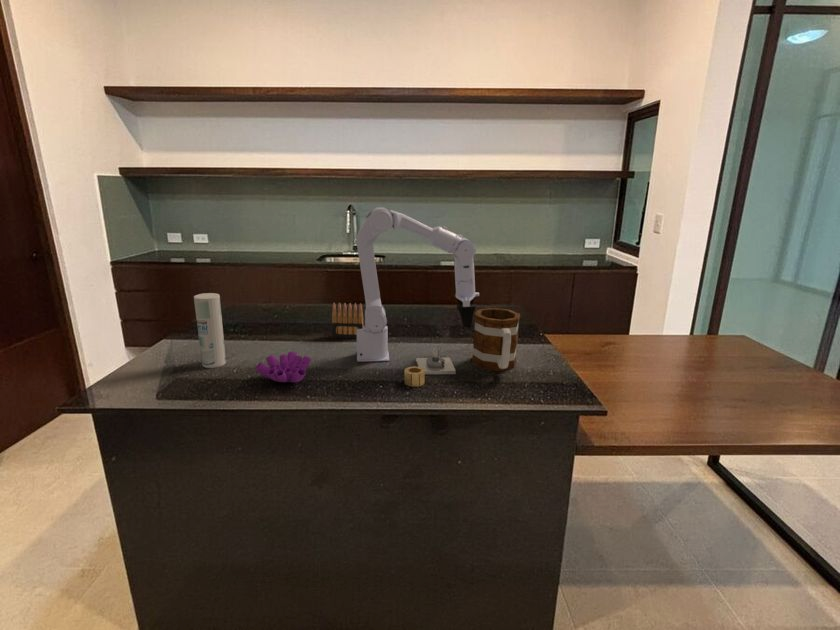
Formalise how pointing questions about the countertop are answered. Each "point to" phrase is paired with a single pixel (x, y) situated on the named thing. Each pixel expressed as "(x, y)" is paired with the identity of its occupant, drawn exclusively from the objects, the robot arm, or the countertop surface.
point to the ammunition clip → (346, 321)
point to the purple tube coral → (284, 368)
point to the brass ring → (414, 376)
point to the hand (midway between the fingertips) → (467, 323)
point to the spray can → (210, 329)
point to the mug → (495, 339)
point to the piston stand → (436, 364)
